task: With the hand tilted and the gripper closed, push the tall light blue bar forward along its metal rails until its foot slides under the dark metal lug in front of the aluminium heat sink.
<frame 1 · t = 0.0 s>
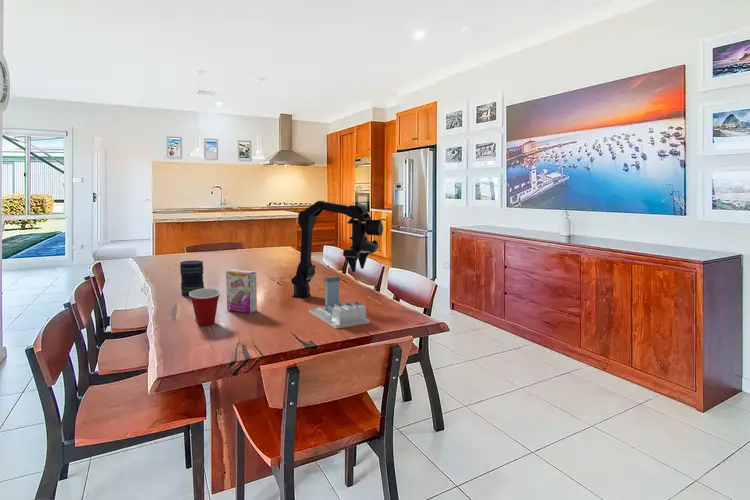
hand: (358, 270, 189), 15 cm above the table, tool pointing down, fingers open, 9 cm apart
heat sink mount: (338, 317, 170), on the table
plastic cup: (206, 324, 159), on the table
candy bar box: (242, 311, 176), on the table
storage jar: (192, 294, 202), on the table
light blue bar: (334, 294, 171), point 8 cm above the table, slide at 0.0 cm
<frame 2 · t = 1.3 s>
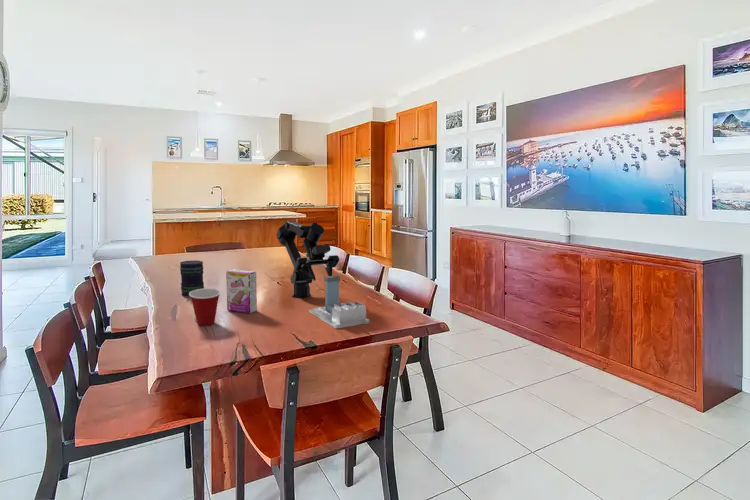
hand: (323, 279, 180), 12 cm above the table, tool tilted 45°, fingers open, 7 cm apart
nothing on the table moved.
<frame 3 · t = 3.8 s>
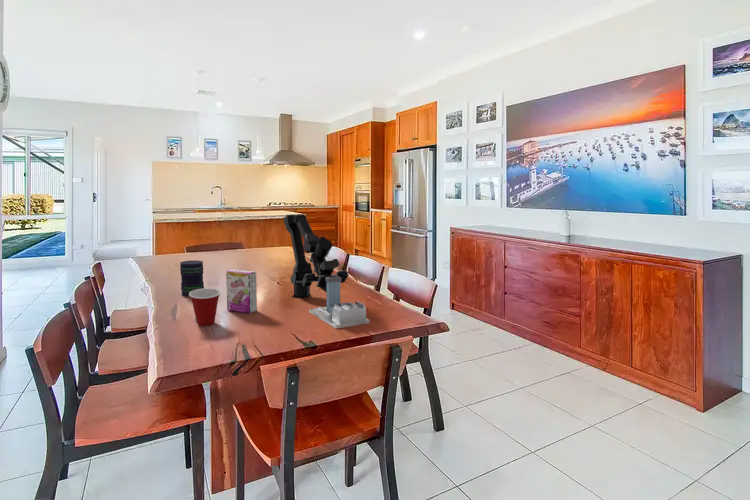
hand: (331, 295, 173), 7 cm above the table, tool tilted 45°, fingers closed, pressing on light blue bar
light blue bar: (335, 295, 170), point 8 cm above the table, slide at 1.2 cm, touching gripper
everything else where it was.
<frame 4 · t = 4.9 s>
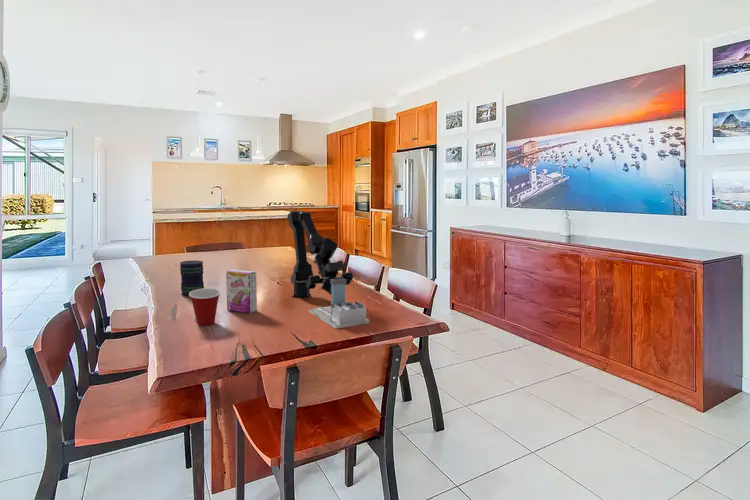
hand: (336, 298, 170), 7 cm above the table, tool tilted 45°, fingers closed, pressing on light blue bar
light blue bar: (340, 297, 167), point 8 cm above the table, slide at 5.4 cm, touching gripper
everything else where it was.
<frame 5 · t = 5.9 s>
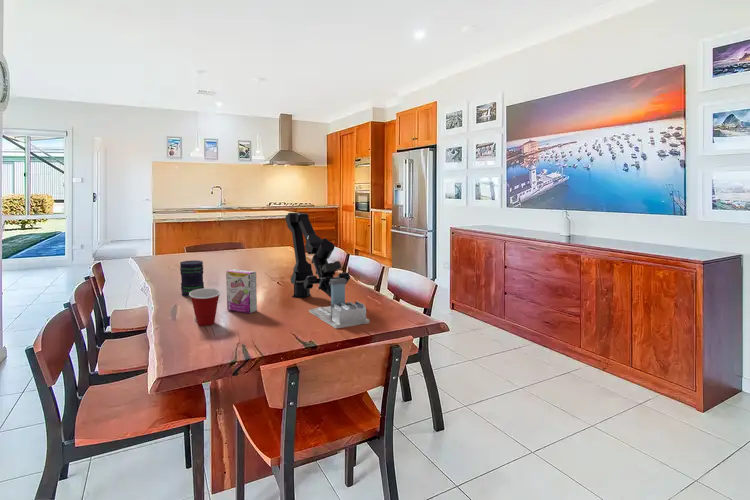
hand: (333, 298, 172), 7 cm above the table, tool tilted 45°, fingers closed
light blue bar: (340, 297, 167), point 8 cm above the table, slide at 5.2 cm
everything else where it was.
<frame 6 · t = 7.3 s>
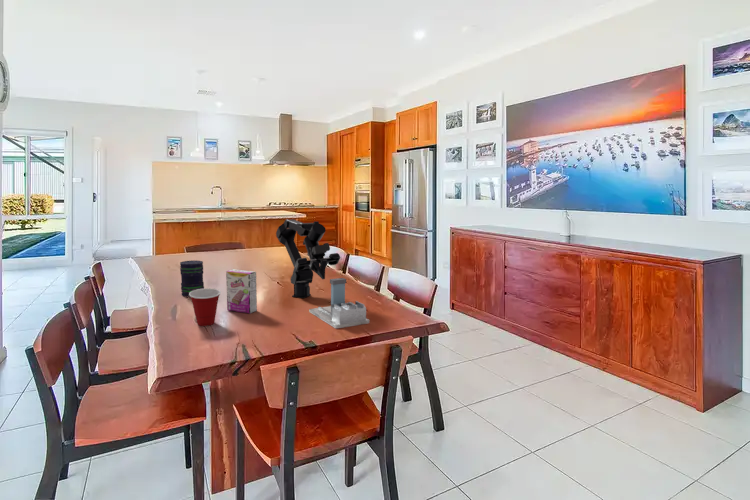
hand: (323, 278, 181), 12 cm above the table, tool tilted 40°, fingers closed
nothing on the table moved.
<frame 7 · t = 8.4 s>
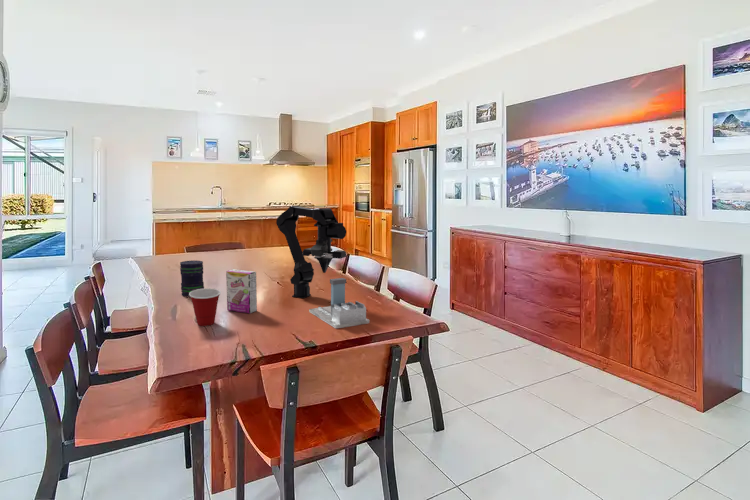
hand: (324, 272, 191), 13 cm above the table, tool pointing down, fingers closed
nothing on the table moved.
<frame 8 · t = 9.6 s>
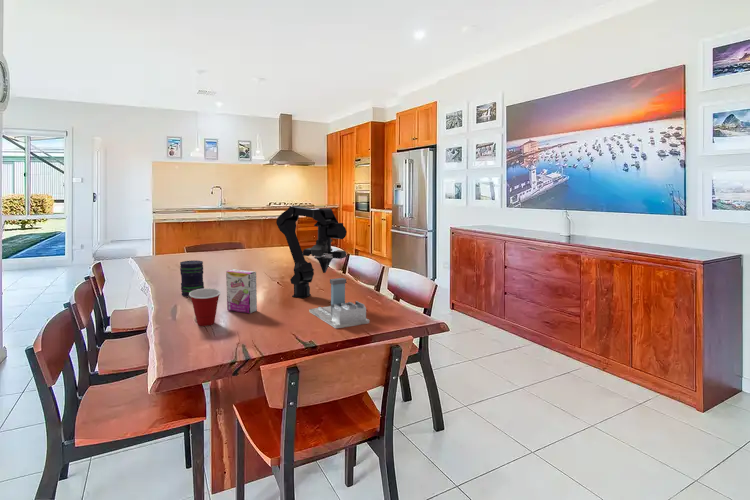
hand: (324, 272, 191), 13 cm above the table, tool pointing down, fingers closed
nothing on the table moved.
at the end: light blue bar slide at 5.2 cm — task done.
